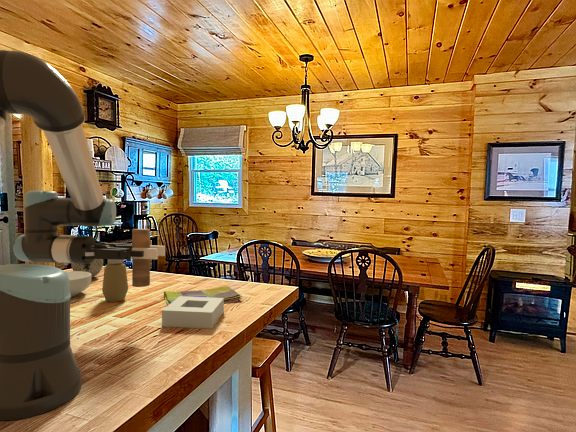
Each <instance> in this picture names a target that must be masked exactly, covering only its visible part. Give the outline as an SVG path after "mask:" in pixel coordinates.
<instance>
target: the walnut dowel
mask: <svg viewBox="0 0 576 432" xmlns="http://www.w3.org/2000/svg"><path fill="white" fill-rule="evenodd" d="M131 231H132V233H131V235H132V236H131V237H132V238H131V241H132V242H131V244H132V248H150V245H151V229H150V228H133V229H131ZM131 261H132V263H131V266H132V267H131V268H132V270H131V272H132V273H131V275H132V276H131V277H132V279H131V280H132V282H131V283H132V284H131V285H132V287H133V288H143V287H149V286H150V285H151V259H132V258H131Z"/></svg>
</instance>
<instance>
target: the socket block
mask: <svg viewBox="0 0 576 432" xmlns="http://www.w3.org/2000/svg"><path fill="white" fill-rule="evenodd" d="M224 305H225V304H224V298H210V297H185V296H179V297H178V298H177V299H176V300H174V301H173V302H172V303H171V304H169V305H167V306H165V307H164V308H163V309H162V310H161V327H165V328H166V327H168V328H173V327H174V328H191V329H192V328H193V329H211V330H212V329H213V328H214V327H215V325H216V324H217V323H218V321H219V320H220V319H221V317H222V316H223V315H224V311H225V310H224V308H225V306H224Z"/></svg>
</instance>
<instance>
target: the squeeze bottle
mask: <svg viewBox="0 0 576 432" xmlns="http://www.w3.org/2000/svg"><path fill="white" fill-rule="evenodd" d="M123 262H124V260H117V259H107V264H105V266H104V270H103V279H102V288H101V292H102V294H103V297H104V299H105V301H106V302H108V303H110V302H111V303H115V302H116V303H117V302H121V301H124V300H125V299H126V296H127V293H128V290H129V284H128V283H129V282H128V274H127V266H126V264H125V263H123Z"/></svg>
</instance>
